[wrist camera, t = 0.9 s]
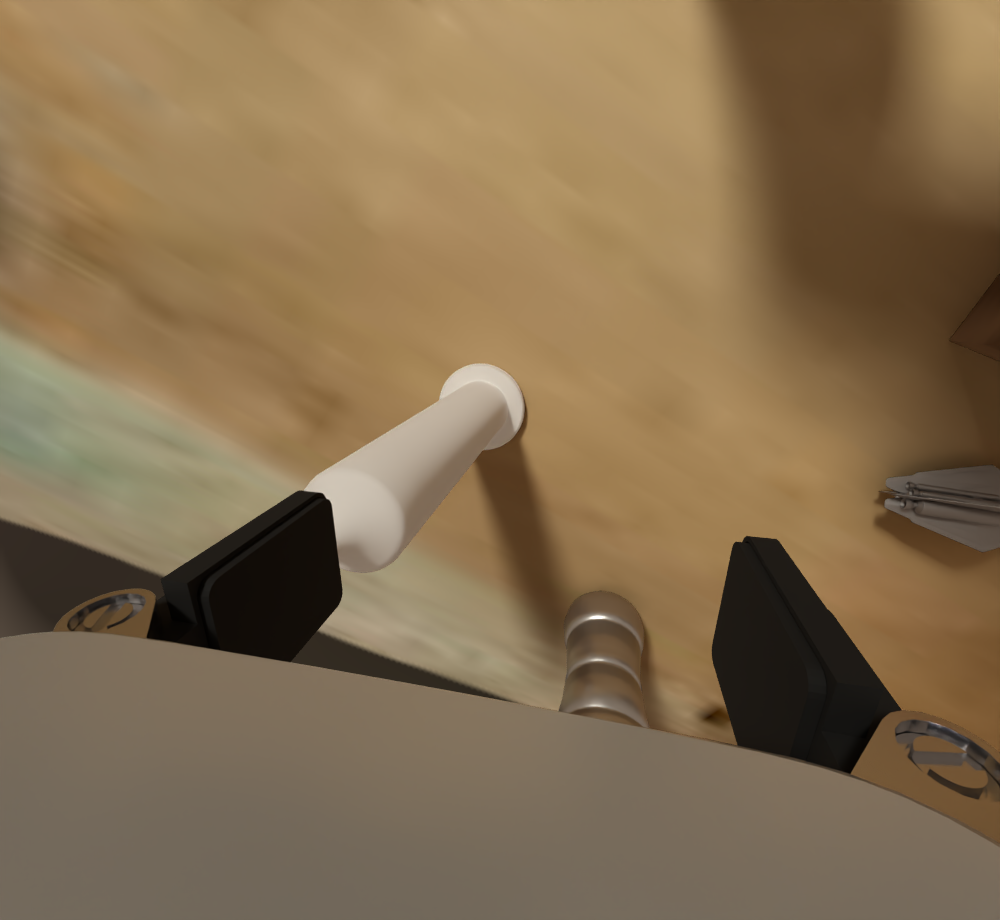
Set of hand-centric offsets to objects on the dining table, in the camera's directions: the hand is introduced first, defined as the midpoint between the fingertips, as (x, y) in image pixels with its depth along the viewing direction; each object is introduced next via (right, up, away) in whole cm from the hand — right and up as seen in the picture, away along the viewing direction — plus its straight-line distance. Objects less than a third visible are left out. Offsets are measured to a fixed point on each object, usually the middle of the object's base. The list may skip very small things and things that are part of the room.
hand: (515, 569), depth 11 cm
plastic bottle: (+9, -11, +31) cm, 34 cm away
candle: (-2, +7, +28) cm, 29 cm away
